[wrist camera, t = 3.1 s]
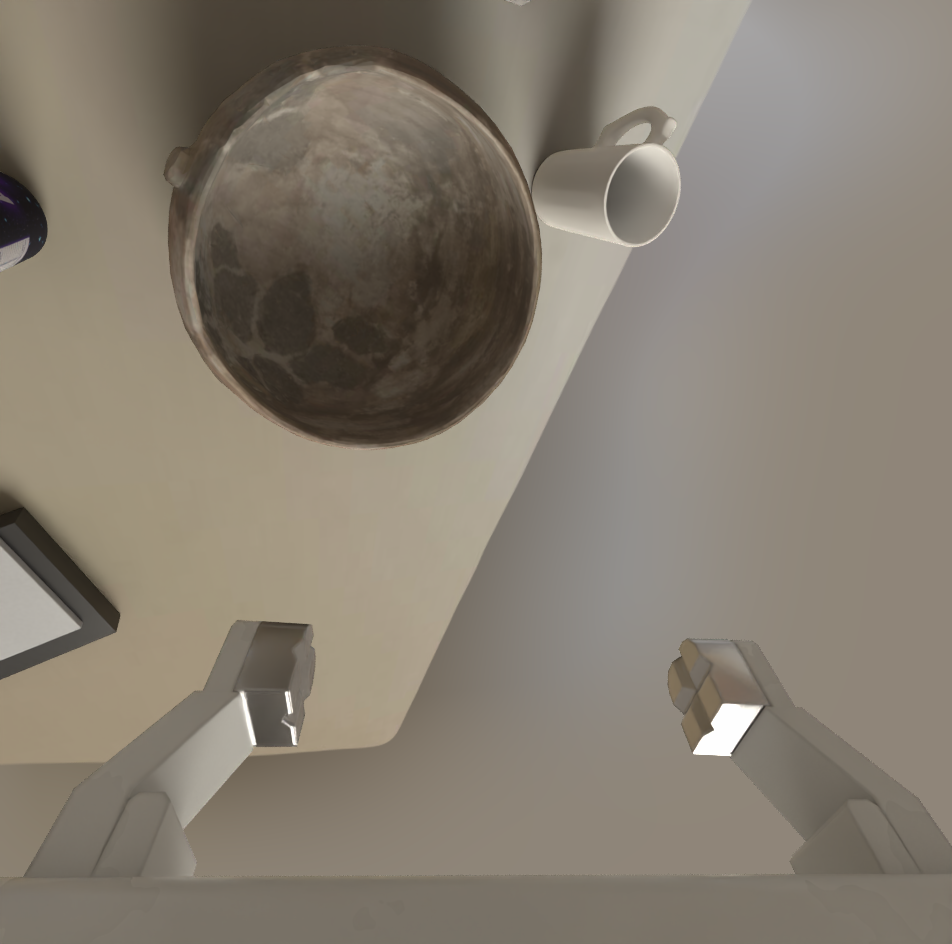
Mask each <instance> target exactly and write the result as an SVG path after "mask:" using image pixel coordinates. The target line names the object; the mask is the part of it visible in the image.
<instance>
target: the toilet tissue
mask: <svg viewBox="0 0 952 944" xmlns="http://www.w3.org/2000/svg"><path fill="white" fill-rule="evenodd" d="M506 1H509V2H511V3H514V4H517V5H520V6H522V5H524V4H526V3H527V2H529V1H531V0H506Z"/></svg>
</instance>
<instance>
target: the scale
mask: <svg viewBox="0 0 952 944" xmlns="http://www.w3.org/2000/svg"><path fill="white" fill-rule="evenodd" d="M119 619H120V614H119V613H118V612H117V611H116V609H115V608H114V607H113V606H112V605H111V604H110V603H109V602H108V601H107V599H106V598H105V597H104V596H103V595H102V594H101V593H100V592H99V591H98V589H97V588H96V587H95V586H94V585H93V584H92V583H91V582H90V580H89V579H88V578H87V577H86V576H85V575H84V574H83V573H82V572H81V570H80V569H79V568H78V567H77V566H76V565H75V564H74V563H73V562H72V560H71V559H70V558H69V557H68V556H67V555H66V554H65V553H64V552H63V550H62V549H61V548H60V547H59V546H58V545H57V544H56V543H55V541H54V540H53V539H52V538H51V537H50V536H49V535H48V534H47V533H46V531H45V530H44V529H43V528H42V527H41V526H40V525H39V524H38V523H37V521H36V520H35V519H34V518H33V517H32V516H31V515H30V514H29V513H28V511H27V510H26V509H25V508H24V507H23V508H20V509H18V510H15V511H12V512H9V513H6V514H3V515H0V680H1V679H3V678H5V677H8V676H10V675H13V674H15V673H18V672H20V671H23V670H25V669H27V668H30V667H32V666H35V665H37V664H40V663H42V662H45V661H47V660H49V659H52V658H54V657H57V656H59V655H62V654H64V653H67V652H69V651H71V650H74V649H76V648H79V647H81V646H84V645H86V644H89V643H91V642H93V641H96V640H98V639H101V638H103V637H106V636H108V635H111V634H113V633H115V632H116V631H117V627H118V623H119Z"/></svg>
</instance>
